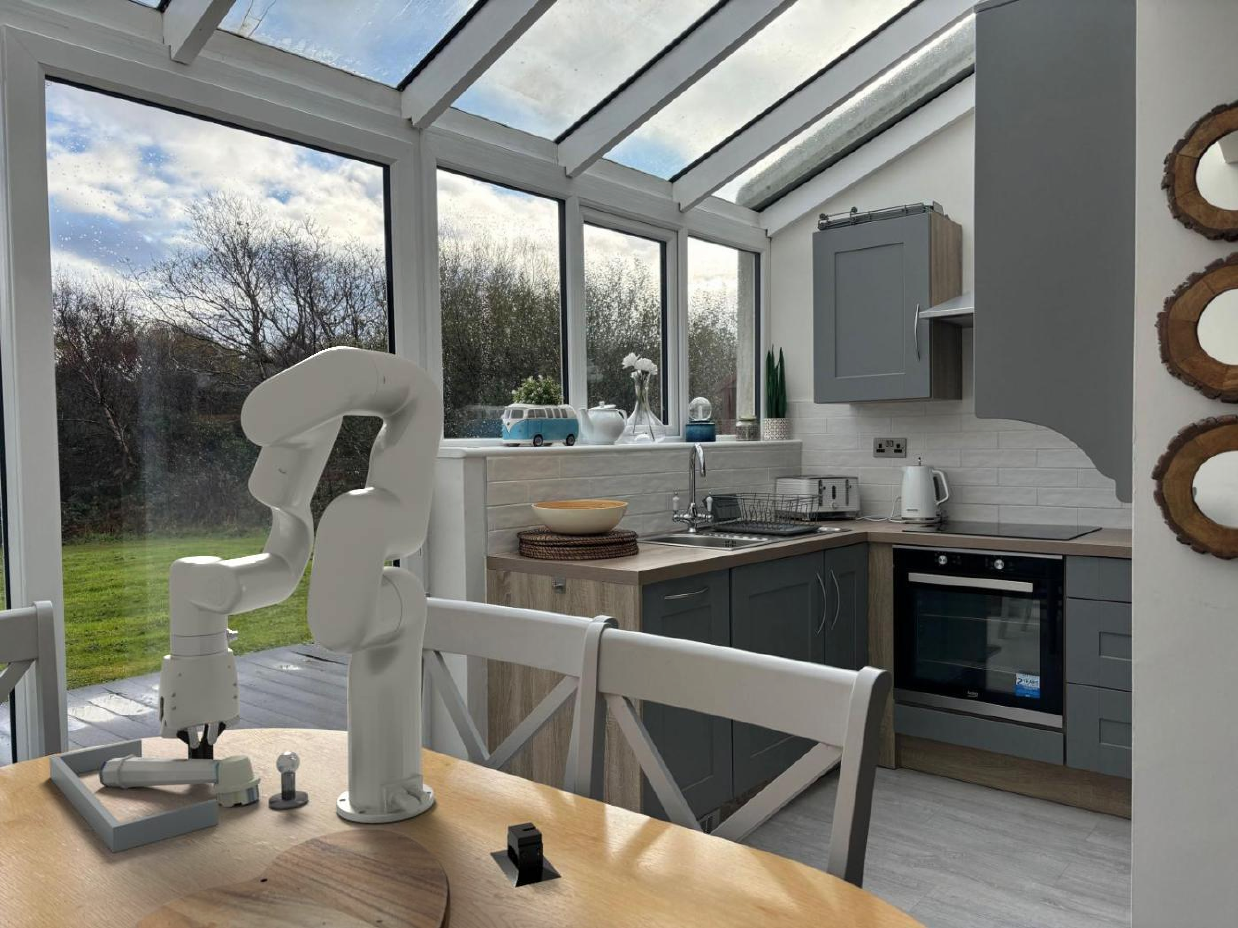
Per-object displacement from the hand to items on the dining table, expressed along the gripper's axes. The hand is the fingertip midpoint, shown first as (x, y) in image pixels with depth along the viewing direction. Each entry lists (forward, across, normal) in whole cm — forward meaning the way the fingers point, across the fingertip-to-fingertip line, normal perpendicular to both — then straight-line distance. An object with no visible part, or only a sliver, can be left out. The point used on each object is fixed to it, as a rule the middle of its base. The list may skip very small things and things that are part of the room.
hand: (201, 771), depth 132 cm
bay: (+1, +10, 0) cm, 10 cm away
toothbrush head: (+2, +4, +2) cm, 5 cm away
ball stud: (+1, -6, +16) cm, 17 cm away
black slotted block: (+2, -19, +52) cm, 56 cm away
